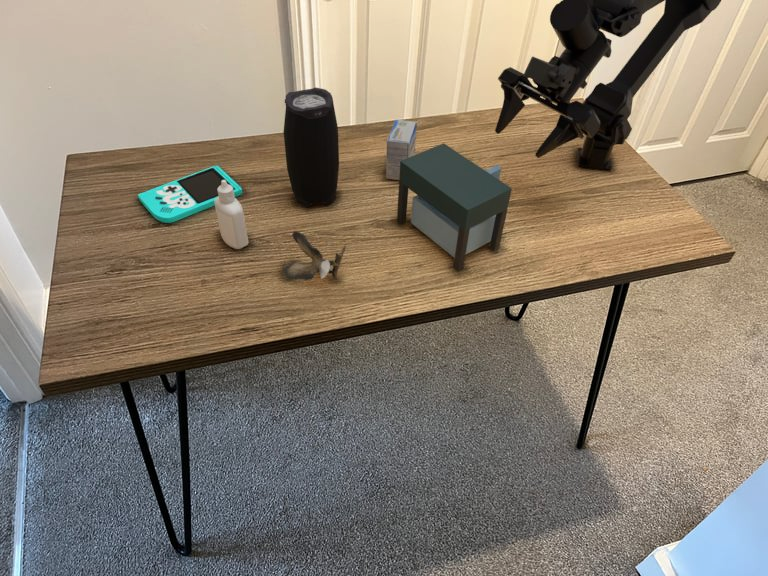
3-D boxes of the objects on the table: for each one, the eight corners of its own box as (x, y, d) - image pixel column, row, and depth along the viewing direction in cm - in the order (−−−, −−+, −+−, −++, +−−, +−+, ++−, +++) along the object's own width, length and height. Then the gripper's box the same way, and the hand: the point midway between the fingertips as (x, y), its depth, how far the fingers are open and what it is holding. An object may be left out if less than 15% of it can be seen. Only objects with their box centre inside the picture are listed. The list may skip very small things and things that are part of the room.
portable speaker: (281, 199, 109) (269, 99, 96) (315, 176, 115) (309, 79, 101) (315, 217, 106) (308, 117, 92) (349, 193, 111) (347, 95, 97)
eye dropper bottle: (222, 252, 99) (210, 193, 90) (220, 231, 102) (208, 172, 94) (249, 249, 99) (239, 189, 91) (246, 228, 103) (236, 169, 95)
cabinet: (437, 202, 110) (443, 142, 101) (499, 248, 101) (512, 188, 93) (396, 221, 106) (400, 160, 97) (457, 271, 97) (467, 210, 88)
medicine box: (408, 182, 114) (410, 142, 108) (385, 179, 115) (386, 139, 109) (414, 160, 120) (417, 121, 114) (393, 157, 120) (394, 118, 114)
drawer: (468, 194, 112) (476, 150, 105) (515, 227, 105) (526, 183, 98) (410, 222, 105) (413, 177, 98) (456, 259, 99) (463, 214, 92)
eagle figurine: (346, 251, 98) (294, 235, 98) (346, 240, 91) (290, 222, 91) (332, 295, 96) (279, 278, 96) (331, 287, 89) (273, 269, 89)
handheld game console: (138, 198, 108) (136, 192, 107) (217, 169, 116) (216, 163, 115) (162, 227, 103) (160, 220, 102) (244, 193, 110) (243, 187, 109)
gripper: (515, 17, 96) (457, 100, 99) (610, 59, 86) (542, 150, 89) (538, 54, 105) (484, 128, 108) (626, 96, 95) (564, 176, 98)
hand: (516, 144), depth 101 cm, fingers open, 9 cm apart
